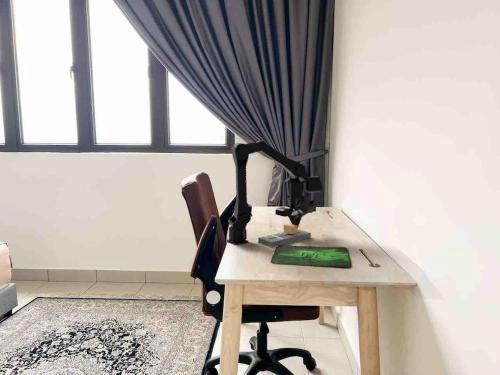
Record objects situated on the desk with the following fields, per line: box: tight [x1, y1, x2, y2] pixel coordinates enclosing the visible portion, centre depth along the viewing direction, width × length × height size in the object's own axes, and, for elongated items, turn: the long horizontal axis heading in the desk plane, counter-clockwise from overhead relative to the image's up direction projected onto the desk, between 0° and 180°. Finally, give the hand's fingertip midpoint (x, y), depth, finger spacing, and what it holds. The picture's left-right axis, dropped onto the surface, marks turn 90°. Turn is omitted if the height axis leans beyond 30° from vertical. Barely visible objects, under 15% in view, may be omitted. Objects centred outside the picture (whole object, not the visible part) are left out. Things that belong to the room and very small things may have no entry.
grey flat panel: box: [257, 228, 312, 248], centre depth 156 cm, size 22×8×2 cm, turn 128°
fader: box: [283, 223, 297, 234], centre depth 157 cm, size 3×5×4 cm
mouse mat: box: [270, 244, 352, 269], centre depth 136 cm, size 27×22×1 cm
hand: (295, 229), depth 159 cm, fingers closed
